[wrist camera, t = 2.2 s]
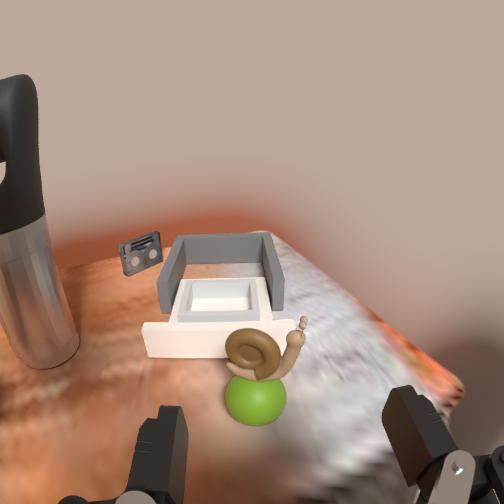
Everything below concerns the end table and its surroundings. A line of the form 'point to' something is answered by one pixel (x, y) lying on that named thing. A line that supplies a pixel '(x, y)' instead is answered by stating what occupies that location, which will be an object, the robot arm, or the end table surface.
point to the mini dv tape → (141, 253)
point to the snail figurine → (259, 373)
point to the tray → (213, 318)
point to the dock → (220, 261)
